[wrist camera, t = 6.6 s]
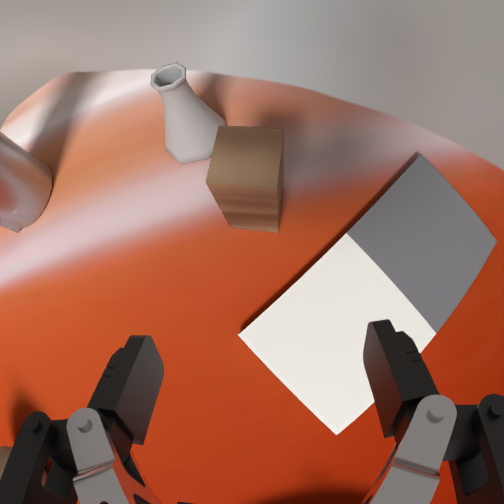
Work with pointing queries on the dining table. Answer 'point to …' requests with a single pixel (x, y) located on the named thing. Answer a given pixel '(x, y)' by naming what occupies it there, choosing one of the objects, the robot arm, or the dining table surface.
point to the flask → (185, 116)
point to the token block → (248, 176)
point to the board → (372, 292)
